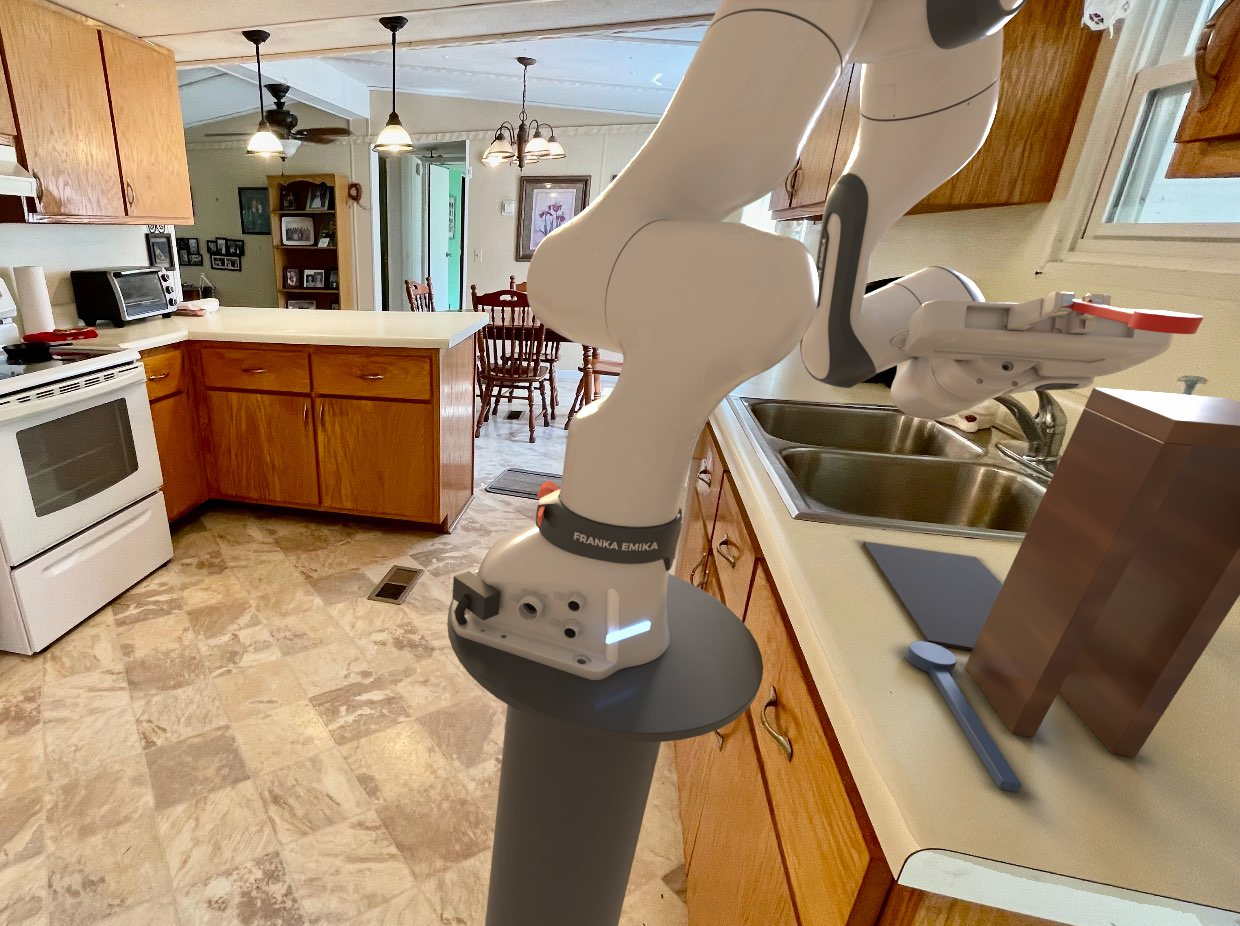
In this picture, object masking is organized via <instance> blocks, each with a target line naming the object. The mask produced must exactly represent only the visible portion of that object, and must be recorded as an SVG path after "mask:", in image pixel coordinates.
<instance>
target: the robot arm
mask: <svg viewBox="0 0 1240 926" xmlns="http://www.w3.org/2000/svg"><path fill="white" fill-rule="evenodd" d="M1027 1H1028V0H722V1H721V2H720V5H719V6H718V8H717V9H716V12H715V13H714V15H713V17H712V19H711V21H710V23H709V25H708V27H707V29H706V30H705V33H704V34H703V37H702V39H701V41H700V43H699V45H698V47H697V48H696V51H695V53H694V55H693V57H692V59H691V61H690V63H689V65H688V67H687V69H686V72H685V73H684V75H683V77H682V79H681V81H680V83H679V85H678V86H677V89H676V90H675V92H674V94H673V96H672V97H671V100H670V102H669V104H668V105H667V107H666V109H665V111H664V113H663V115H662V117H661V119H660V120H659V122H658V124H657V125H656V126H655V128H654V130H653V131H652V133H651V134H650V135H649V137H648V139H647V140H646V141H645V143H644V144H643V145H642V147H641V148H640V150H638V152H637V153H636V154H635V156H634V157H633V158H632V159H631V161H630V162H628V164H627V165H626V166H625V167H624V168H623V169H622V171H621V172H620V173H619V174H618V175H617V176H616V178H615V179H614V180H613V181H612V182H611V183H610V184H609V185H608V187H606V189H604V191H603V192H601V194H600V195H599V196H598V197H596V198H595V199H594V201H593V202H591V204H590V205H589V206H587V207H586V208H585V209H584V210H582V211H581V212H580V213H579V214H578V215H576V216H574V218H572V219H571V220H569V221H568V222H566V223H565V224H563V225H561V226H559V227H558V228H556V229H554V230H553V231H551V232H550V233H548V235H546V236H545V237H544V238H543V239H542V240H541V242H540V243H539V245H538V246H537V248H536V249H535V251H534V253H533V255H532V257H531V260H530V262H529V265H528V270H527V274H526V296H527V297H526V298H527V302H528V305H529V308H530V310H531V312H532V314H533V315H534V317H535V318H536V319H537V321H538V322H540V323H541V324H542V325H544V326H545V327H547V328H548V329H550V330H552V331H553V332H554V333H556V334H558V335H560V336H561V337H564V338H565V339H567V340H570V341H571V342H573V343H576V344H578V345H584V346H586V347H587V346H588V347H591V348H596V349H599V350H604V351H608V352H611V353H616V354H620V355H622V356H623V357H622V358H623V360H622V367H621V369H620V373H619V375H618V378H617V380H616V383H615V385H614V387H613V388H612V390H611V392H610V393H609V395H605V396H602V397H600V398H598V399H595V400H593V401H591V402H589V403H588V404H586V405H585V406H583V407H582V408H581V409H580V410H578V412H576V413H575V415H574V416H573V417H572V419H571V421H570V423H569V426H568V429H567V436H566V443H565V453H564V460H563V468H562V475H561V485H560V488H559V486H557V483H555V482H553V481H551V480H550V481H549V480H548V481H545V482H543V483H542V484H541V485H540V487H539V490H538V492H537V499H538V503H537V508H536V512H535V513H536V515H535V522H534V523H532V524H529V525H528V526H526V527H524V528H522V529H519V530H517V531H515V532H512V533H509V534H508V535H506V536H504V537H502V538H500V539H498V540H497V541H496V542H494V544H493V545H492V546H491V547H490V548H489V550H488V551H487V552H486V554H485V556H484V557H483V560H482V561H481V563H480V566H479V568H478V569H477V570H475V571H474V572H471V571H470V570H468V571H465V572H462V573H459V574H456V575H454V576H453V579H452V581H453V582H452V598H453V599H454V601H453V605H452V610H451V623H452V626H453V628H454V630H455V632H456V634H457V635H459V636H461V637H464V638H467V639H470V640H473V641H475V642H478V643H481V644H484V645H488V646H491V647H494V648H497V649H500V650H503V651H506V652H509V653H512V654H515V655H518V656H521V657H524V658H527V659H530V660H533V661H536V662H539V663H542V664H545V665H548V666H551V667H554V668H557V669H560V670H563V671H566V672H569V673H572V674H575V675H578V676H581V677H584V678H587V679H590V680H601V679H604V678H606V677H608V676H610V675H611V674H613V673H614V672H616V671H617V670H619V669H623V668H627V667H632V666H637V665H642V664H645V663H648V662H650V661H652V660H655V659H656V658H658V657H659V656H661V655H662V654H663V653H664V652H665V651H666V649H667V648H668V645H669V642H670V633H669V627H668V617H667V589H668V576H669V574H670V570H672V567H673V564H674V561H675V560H676V558H677V553H678V549H679V546H680V545H679V543H680V539H681V535H682V529H683V511H682V508H681V503H682V499H683V494H684V489H685V486H686V483H687V477H688V474H689V469H690V466H691V462H692V459H693V456H694V452H695V448H696V446H697V443H698V440H699V437H700V435H701V433H702V431H703V429H704V427H705V425H706V423H707V422H708V420H709V419H710V417H711V416H712V414H713V413H714V412H715V410H716V409H717V408H718V407H719V405H720V404H721V403H722V402H723V401H724V400H725V398H727V396H729V395H730V394H731V393H732V392H734V390H735V389H737V388H738V387H740V386H741V385H742V384H744V383H745V382H747V381H749V380H750V379H752V378H754V377H756V376H759V375H761V374H763V373H765V372H767V371H769V370H770V369H772V368H773V367H775V366H777V365H778V364H780V363H781V362H782V361H783V360H784V359H786V358H787V357H788V356H789V355H790V354H791V353H792V352H793V351H794V350H795V349H796V348H797V347H798V345H799V351H800V356H801V360H802V363H803V365H804V367H805V369H806V371H807V373H808V374H809V375H810V377H812V379H814V380H816V381H818V382H820V383H822V384H826V385H828V386H833V387H838V388H844V389H851V388H852V387H855V386H857V385H859V384H861V383H862V382H865V381H867V380H869V379H871V378H873V377H874V376H876V375H877V374H878V373H881V372H884V371H886V370H888V369H890V368H893V367H895V366H896V373H895V376H894V379H893V381H892V383H891V387H890V398H891V401H892V403H893V404H894V406H895V407H896V408H897V409H898V410H899V411H900V412H902V413H903V414H905V415H907V416H909V417H913V418H916V419H919V420H939V419H946V418H950V417H953V416H956V415H960V414H961V413H965V412H967V411H969V410H971V409H974V408H976V407H978V406H980V405H982V404H984V403H985V402H986V401H988V400H992V399H996V398H997V397H999V396H1002V395H1004V396H1009V395H1016V394H1020V393H1021V394H1022V393H1028V392H1036V391H1037V392H1038V391H1067V390H1081V389H1085V388H1088V387H1090V386H1092V385H1093V384H1094V382H1095V378H1096V377H1097V378H1098V377H1104V376H1109V375H1114V374H1116V373H1119V372H1122V371H1125V370H1128V369H1130V368H1133V367H1135V366H1138V365H1140V364H1142V363H1145V362H1147V361H1149V360H1151V359H1154V358H1156V357H1159V356H1161V355H1162V354H1164V353H1165V352H1167V351H1168V350H1169V349H1170V347H1171V345H1172V343H1173V337H1174V333H1162V332H1153V331H1145V330H1139V329H1133V328H1130V327H1128V324H1127V323H1123V322H1118V321H1114V320H1110V319H1106V318H1101V317H1097V316H1093V315H1089V314H1084V313H1080V312H1076V311H1072V309H1073V307H1074V302H1073V301H1072V300H1073V299H1076V294H1075V293H1074V292H1067V291H1066V292H1065V291H1052V292H1050V294H1048V296H1047V295H1046V296H1044V297H1043V298H1037V299H1032V300H1028V301H1024V302H1019V303H1017V302H995V301H987V300H986V299H985V297H984V295H983V293H982V292H981V290H980V289H979V288H978V286H977V285H976V284H975V283H974V281H972V280H971V279H969V278H968V277H967V276H965V275H963V274H961V273H959V272H957V271H956V270H954V269H951V268H947V267H943V266H936V265H931V266H926V267H924V268H922V269H920V270H917V271H915V272H913V273H910V274H908V275H905V276H903V277H901V278H898V279H897V280H894V281H892V282H889V283H887V284H886V285H884V286H882V287H879V288H877V289H876V290H873V291H871V292H868V293H866V288H867V282H868V277H869V273H870V267H871V262H872V257H873V254H874V253H875V250H876V247H877V246H878V244H879V243H880V241H881V239H882V238H883V237H884V235H886V233H887V232H888V231H889V230H890V229H891V227H892V226H894V224H896V222H898V220H900V219H901V218H902V217H903V216H904V215H905V214H906V213H908V212H909V211H910V210H911V209H912V208H913V207H914V206H916V205H917V204H918V203H919V202H921V201H922V200H923V199H924V198H926V197H927V196H928V195H929V194H931V193H932V192H933V191H935V190H937V188H939V187H940V186H942V185H943V184H945V182H947V181H948V180H949V179H951V178H953V176H954V175H956V174H957V173H958V172H959V171H960V170H961V169H963V167H964V166H965V165H967V163H968V162H969V161H970V160H971V159H972V158H973V157H974V156H975V155H976V153H977V152H978V151H979V150H980V148H981V147H982V146H983V144H984V142H985V140H986V138H987V136H988V134H989V132H990V129H991V127H992V124H993V121H994V118H995V114H996V111H997V106H998V101H999V94H1000V93H999V92H1000V84H1001V75H1002V74H1001V72H1002V64H1003V52H1004V51H1003V50H1004V25H1005V24H1006V23H1008V21H1009V20H1011V18H1013V17H1014V16H1015V15H1016V14H1017V13H1018V12H1019V11H1020V10H1021V9H1022V8H1023V6H1025V4H1026V3H1027ZM850 64H859V65H862V68H861V77H860V93H859V95H860V97H859V124H858V129H857V134H856V139H855V143H854V145H853V148H852V151H851V154H850V156H849V158H848V161H847V164H846V165H845V168H844V170H843V172H842V173H841V175H840V177H839V178H838V179H837V180H836V182H835V183H834V184H833V185H832V187H831V188H830V190H829V192H828V194H827V197H826V201H825V204H824V209H823V214H822V220H821V225H820V233H819V238H818V245H817V254H816V260H814V258H813V256H812V254H811V253H810V250H809V249H808V247H807V245H805V244H804V243H803V242H802V241H800V240H799V239H797V238H793V237H791V236H787V235H784V234H782V233H778V232H775V231H772V230H769V229H765V228H763V227H762V228H761V227H757V226H755V225H750V224H746V223H742V222H733V221H724V220H726V219H727V218H729V217H730V216H731V215H732V214H734V213H736V212H737V211H739V210H741V209H743V208H745V207H747V206H749V205H751V204H753V203H755V202H757V201H759V200H760V199H763V198H764V197H766V196H767V195H769V194H770V193H772V192H773V191H774V190H775V189H776V188H778V187H779V186H780V185H781V184H782V183H783V182H784V181H785V180H786V178H788V176H790V173H791V172H792V171H793V170H794V168H795V166H796V164H797V162H798V161H799V159H800V157H801V155H802V153H803V151H804V149H805V148H806V146H807V144H808V141H809V140H810V137H811V136H812V134H813V132H814V130H815V128H816V126H817V124H818V123H819V121H820V118H821V116H822V114H823V113H824V110H825V109H826V107H827V105H828V103H829V101H830V99H831V97H832V96H833V93H834V92H835V90H836V88H837V85H838V84H839V82H840V79H842V78H841V77H842V76H843V74H844V72H845V70H846V67H847V66H848V65H850ZM865 293H866V294H865ZM1078 300H1082V301H1087V302H1092V303H1097V304H1102V305H1107V306H1111V300H1112V295H1111V294H1107V293H1087V294H1086V295H1085V296H1082V297H1080V298H1079V299H1078ZM1125 309H1126V310H1131V311H1135V310H1139V309H1138V308H1137V309H1135V308H1125ZM1156 311H1160V310H1156Z"/></svg>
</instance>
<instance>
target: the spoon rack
mask: <svg viewBox="0 0 1240 926" xmlns="http://www.w3.org/2000/svg"><path fill="white" fill-rule="evenodd" d="M1239 597H1240V401H1238V400H1236V399H1232V398H1230V397H1219V396H1218V397H1217V396H1205V395H1204V396H1203V395H1191V394H1179V393H1169V392H1154V391H1142V390H1141V391H1140V390H1129V389H1118V388H1117V389H1116V388H1103V387H1093V388H1092V390H1091V392H1090V394H1089V396H1088V399H1087V401H1086V402H1085V405H1084V408H1083V409H1082V412H1081V414H1080V416H1079V419H1078V420H1077V423H1076V425H1075V427H1074V429H1073V431H1072V433H1071V436H1070V438H1069V441H1068V442H1067V444H1066V446H1065V449H1064V451H1063V452H1062V455H1061V457H1060V459H1059V462H1058V464H1057V465H1056V468H1055V471H1054V473H1053V475H1052V477H1051V479H1050V481H1049V483H1048V485H1047V487H1046V489H1045V492H1044V494H1043V497H1042V499H1041V501H1040V503H1039V505H1038V507H1037V509H1036V511H1035V514H1034V516H1033V518H1032V520H1031V522H1030V524H1029V526H1028V529H1027V531H1026V533H1025V535H1024V537H1023V539H1022V541H1021V544H1020V546H1019V548H1018V550H1017V553H1016V555H1015V557H1014V559H1013V562H1011V566H1010V567H1009V570H1008V572H1007V574H1006V576H1005V579H1004V581H1003V583H1002V587H1001V589H1000V591H999V594H998V596H997V598H996V600H995V602H994V604H993V607H992V609H991V611H990V613H989V615H988V617H987V620H986V622H985V624H984V626H983V628H982V630H981V633H980V635H979V637H978V639H977V641H976V643H975V646H974V648H973V650H972V651H970V655H969V657H968V658H967V661H966V663H965V665H964V668H965V669H966V670H967V671H968V673H969V675H970V676H971V677H972V679H973V680H974V682H975V683H976V685H977V686H978V687H979V689H980V690H981V692H982V693H983V695H984V696H985V697H986V699H987V700H988V702H989V703H990V706H992V708H993V709H994V710H995V712H996V714H997V715H998V716H999V718H1000V720H1001V721H1002V722H1003V724H1004V725H1005V726H1006V727H1007V729H1008V731H1009V732H1010V733H1011V734H1012V735H1017V736H1022V737H1026V738H1027V737H1028V738H1035V736H1036V734H1037V732H1038V730H1039V728H1040V727H1041V725H1042V723H1043V722H1044V720H1045V717H1046V716H1047V714H1048V712H1049V710H1050V708H1051V706H1052V705H1053V704H1054V703H1053V702H1054V701H1055V699H1056V697H1057V695H1058V694H1060V695H1061V696H1062V698H1063V699H1064V700H1065V702H1067V703H1068V704H1069V706H1070V707H1071V708H1072V709H1073V710H1074V712H1075V713H1076V714H1077V715H1078V716H1079V718H1080V719H1081V720H1082V721H1083V722H1084V723H1085V724H1086V725H1087V727H1088V728H1089V729H1090V731H1092V732H1093V734H1094V735H1095V736H1096V737H1097V738H1098V739H1099V741H1100V742H1101V743H1102V745H1104V747H1105V748H1106V749H1107V750H1108V751H1109V752H1110V754H1114V755H1117V756H1123V757H1129V758H1133V759H1135V758H1136V757H1137V756H1138V754H1139V753H1140V751H1141V749H1142V748H1143V746H1144V745H1145V743H1146V742H1147V740H1148V738H1149V737H1150V735H1151V734H1152V733H1153V731H1154V729H1155V727H1157V724H1158V723H1159V721H1160V720H1161V718H1162V717H1163V715H1164V714H1165V712H1166V711H1167V709H1168V708H1169V706H1170V704H1171V703H1172V701H1173V699H1174V698H1175V697H1176V695H1177V694H1178V692H1179V691H1180V689H1181V687H1182V686H1183V684H1184V683H1185V681H1186V679H1187V678H1188V676H1189V675H1190V673H1191V672H1192V670H1193V668H1194V667H1195V665H1196V664H1197V663H1198V661H1199V659H1200V658H1201V656H1202V654H1203V653H1204V651H1205V650H1206V648H1207V647H1208V645H1209V644H1210V642H1211V641H1212V639H1213V638H1214V637H1215V634H1216V633H1217V631H1218V630H1219V628H1220V626H1221V625H1222V624H1223V622H1224V620H1226V618H1227V616H1228V614H1229V613H1230V611H1231V609H1233V606H1234V605H1235V604H1236V602H1237V600H1238V599H1239Z"/></svg>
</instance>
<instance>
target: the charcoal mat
mask: <svg viewBox="0 0 1240 926" xmlns="http://www.w3.org/2000/svg"><path fill="white" fill-rule="evenodd" d="M862 545H863V547H864V549H865V550H866V551H867V553H868V554H869V556H870V558H871V559H872V561H873V562H874V564H875V565H876V567H877V568H878V570H879V572H880V573H881V575H882V576H883V578H884V579H885V581H886V583H887V584H888V585H889V587H890V589H891V590H892V592H893V593H894V595H895V596H896V598H897V599H898V601H899V602H900V604H901V605H902V607H903V608H904V610H905V611H906V613H907V615H908V616H909V617H910V620H911V621H912V623H914V626H915V627H916V628H917V630H918V632H919V633H920V635H921V636H922V637H923V639H924V642H930V643H933V644H936V645H939V646H941V647H944V648H952V649H956V650H957V649H958V650H964V651H970V652H972V650H973V648H974V646H975V643H976V641H977V639H978V637H979V635H980V633H981V630H982V628H983V626H984V624H985V622H986V620H987V617H988V615H989V613H990V611H991V609H992V607H993V604H994V602H995V600H996V598H997V596H998V594H999V591H1000V589H1001V587H1002V585H1003V583H1001V581H999V580H998V579H997V577H996V576H995V575H994V574H993V573H992V572H991V571H990V570H989V569H988V568H987V567H986V566H985V565H984V564H983V563H982V562H981V561H980V560H979V558H977V556H970V555H964V554H956V553H949V552H943V551H935V550H928V549H920V548H913V547H906V546H900V545H892V544H886V543H885V544H884V543H877V542H871V541H863V542H862Z"/></svg>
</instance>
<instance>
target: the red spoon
mask: <svg viewBox="0 0 1240 926" xmlns="http://www.w3.org/2000/svg"><path fill="white" fill-rule="evenodd" d="M1048 295H1049V294H1048ZM1048 295H1046V296H1048ZM1072 301H1073V302H1074V307H1073V309H1072V311H1076V312H1080V313H1084V314H1089V315H1093V316H1097V317H1101V318H1106V319H1110V320H1114V321H1118V322H1123V323H1127V324H1128V327H1130V328H1133V329H1139V330H1145V331H1153V332H1162V333H1173V335H1174V334H1175V335H1195V334H1196V333H1197V331H1198V330H1199V327H1200V325H1201V324H1202V321H1203V320H1204V316H1203V315H1199V314H1195V313H1194V314H1193V313H1188V312H1187V313H1186V312H1177V311H1168V310H1159V311H1156V310H1155V309H1138V310H1135V311H1131V310H1126V309H1127V308H1121V307H1116V306H1111V305H1110V306H1107V305H1102V304H1097V303H1092V302H1087V301H1082V300H1078V299H1077V298H1075V299H1073V300H1072Z"/></svg>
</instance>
